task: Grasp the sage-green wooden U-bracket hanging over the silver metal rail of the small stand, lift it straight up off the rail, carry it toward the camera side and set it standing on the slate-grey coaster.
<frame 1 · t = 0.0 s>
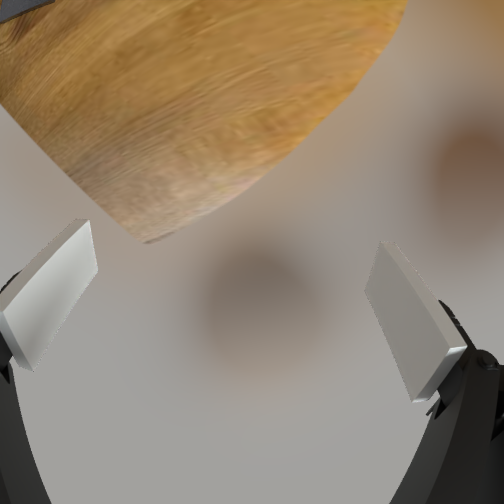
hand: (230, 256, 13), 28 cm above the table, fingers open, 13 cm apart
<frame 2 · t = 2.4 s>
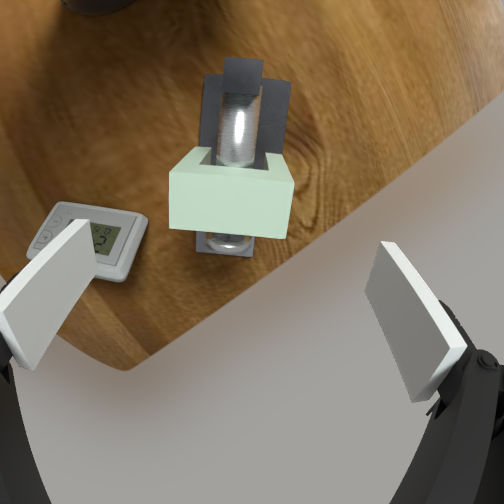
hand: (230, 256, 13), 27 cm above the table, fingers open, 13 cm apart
stand: (243, 124, 35), on the table
coaster: (226, 226, 42), on the table
bracket: (236, 170, 28), point 10 cm above the table, touching stand
digital clock: (102, 220, 42), on the table
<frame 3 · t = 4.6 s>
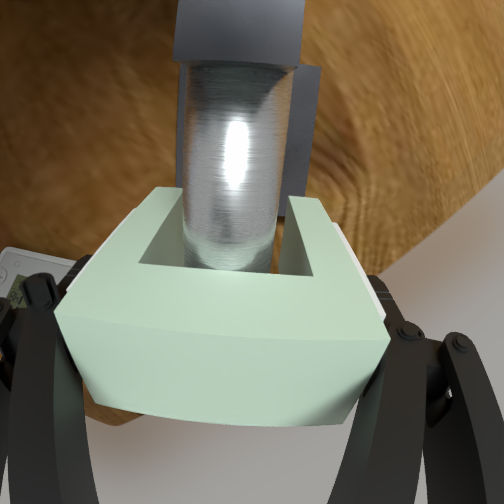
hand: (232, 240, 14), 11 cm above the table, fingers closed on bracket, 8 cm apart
stand: (244, 134, 22), on the table
bracket: (234, 228, 15), point 10 cm above the table, touching gripper, stand
digital clock: (60, 271, 29), on the table
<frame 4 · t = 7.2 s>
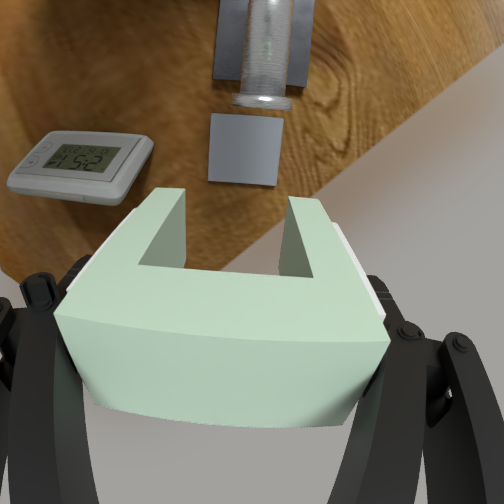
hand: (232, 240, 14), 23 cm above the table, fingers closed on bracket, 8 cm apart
stand: (264, 33, 27), on the table
coaster: (244, 148, 34), on the table
bracket: (234, 229, 15), point 21 cm above the table, touching gripper
digital clock: (99, 151, 34), on the table
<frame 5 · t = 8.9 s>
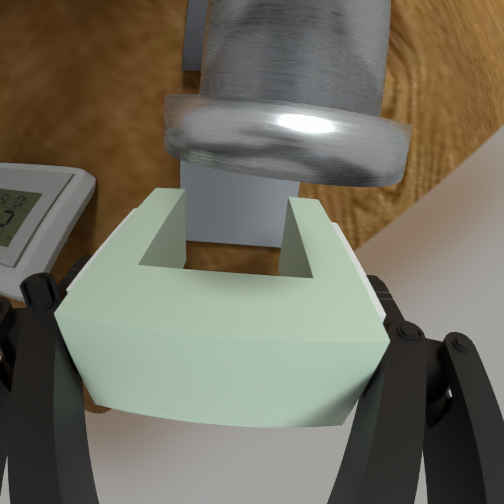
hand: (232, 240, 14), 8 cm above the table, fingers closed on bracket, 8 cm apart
coaster: (239, 187, 21), on the table
bracket: (234, 229, 15), point 6 cm above the table, touching gripper
digital clock: (29, 190, 21), on the table
when the fingers open (3 cm above the table, at t = 10.2 s): bracket drops 1 cm, resting on coaster.
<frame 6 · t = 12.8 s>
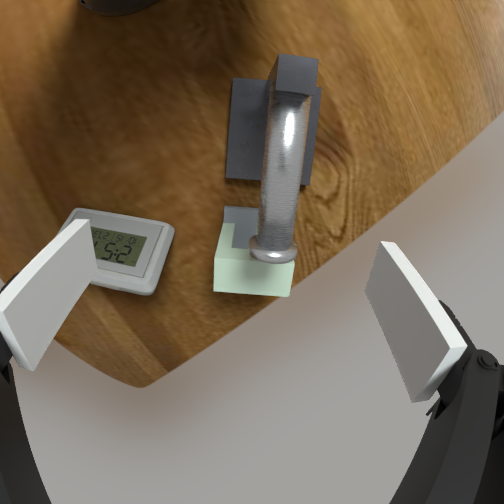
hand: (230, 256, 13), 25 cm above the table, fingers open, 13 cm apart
stand: (272, 130, 34), on the table
coaster: (253, 236, 40), on the table
bracket: (253, 239, 40), point 1 cm above the table, touching coaster
digital clock: (123, 229, 40), on the table
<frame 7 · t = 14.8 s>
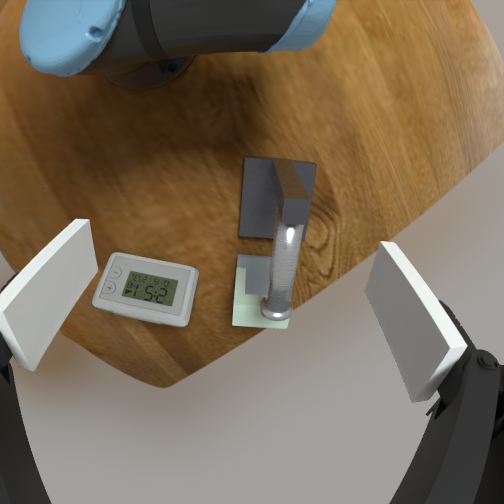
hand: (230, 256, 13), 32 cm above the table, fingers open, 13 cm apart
stand: (276, 197, 45), on the table
coaster: (260, 276, 52), on the table
bracket: (260, 279, 51), point 1 cm above the table, touching coaster
digital clock: (154, 269, 51), on the table
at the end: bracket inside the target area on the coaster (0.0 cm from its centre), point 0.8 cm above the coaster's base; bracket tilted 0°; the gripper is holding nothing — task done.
